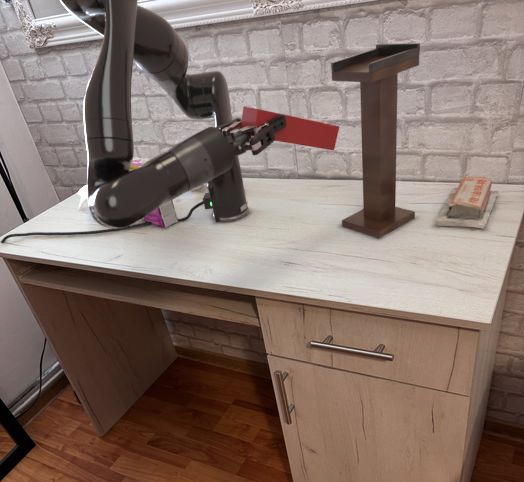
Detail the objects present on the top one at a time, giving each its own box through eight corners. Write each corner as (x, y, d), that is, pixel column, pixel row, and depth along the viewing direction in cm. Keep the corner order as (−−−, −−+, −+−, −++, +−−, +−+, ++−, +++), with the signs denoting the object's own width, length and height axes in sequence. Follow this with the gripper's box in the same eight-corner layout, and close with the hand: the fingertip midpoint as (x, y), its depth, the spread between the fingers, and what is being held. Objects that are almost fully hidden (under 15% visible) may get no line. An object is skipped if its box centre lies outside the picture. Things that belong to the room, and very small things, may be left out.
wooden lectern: (375, 240, 102) (373, 59, 81) (338, 228, 110) (328, 59, 89) (414, 218, 108) (422, 42, 87) (377, 208, 115) (376, 44, 94)
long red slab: (253, 137, 82) (258, 109, 80) (239, 133, 85) (243, 106, 83) (334, 150, 94) (339, 126, 92) (319, 147, 97) (324, 123, 95)
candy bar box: (140, 222, 132) (121, 162, 122) (155, 215, 135) (136, 155, 125) (164, 229, 125) (145, 166, 115) (179, 221, 128) (162, 159, 118)
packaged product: (454, 174, 112) (501, 175, 107) (452, 194, 115) (497, 195, 110) (436, 205, 100) (488, 207, 95) (435, 226, 103) (484, 230, 98)
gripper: (214, 144, 73) (297, 99, 78) (171, 131, 82) (247, 92, 88) (228, 189, 78) (305, 144, 83) (186, 172, 88) (257, 133, 93)
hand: (275, 118), depth 85 cm, fingers closed on long red slab, 4 cm apart
